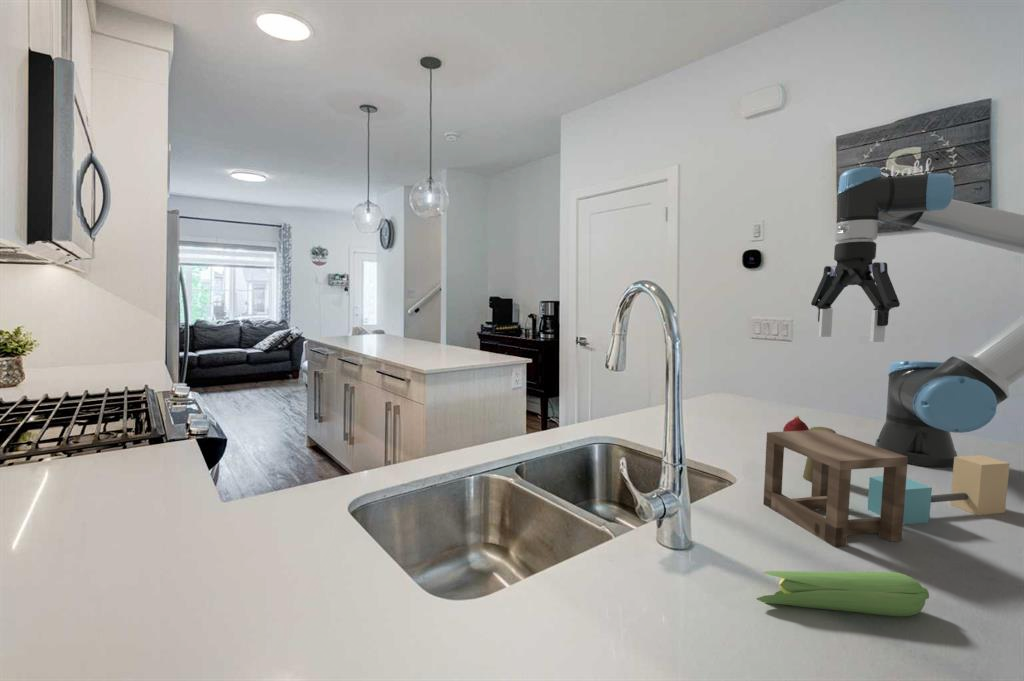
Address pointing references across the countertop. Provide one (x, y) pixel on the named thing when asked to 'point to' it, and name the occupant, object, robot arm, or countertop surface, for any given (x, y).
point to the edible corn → (850, 592)
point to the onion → (795, 425)
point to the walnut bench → (835, 484)
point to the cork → (809, 462)
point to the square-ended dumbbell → (953, 490)
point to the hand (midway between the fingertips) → (849, 339)
